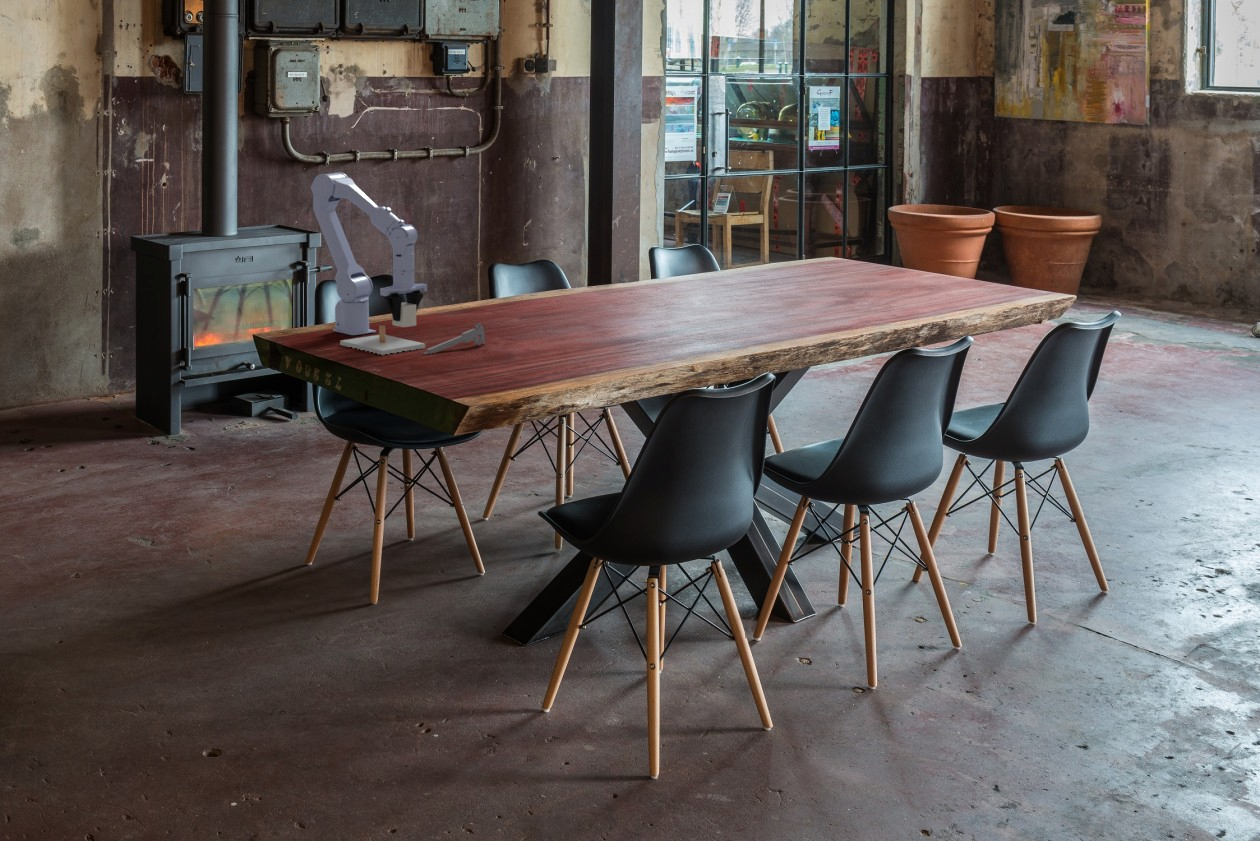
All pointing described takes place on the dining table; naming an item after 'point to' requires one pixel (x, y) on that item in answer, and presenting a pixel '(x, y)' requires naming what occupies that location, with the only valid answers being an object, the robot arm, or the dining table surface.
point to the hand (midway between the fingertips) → (404, 319)
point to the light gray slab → (382, 343)
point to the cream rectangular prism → (406, 315)
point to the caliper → (461, 339)
